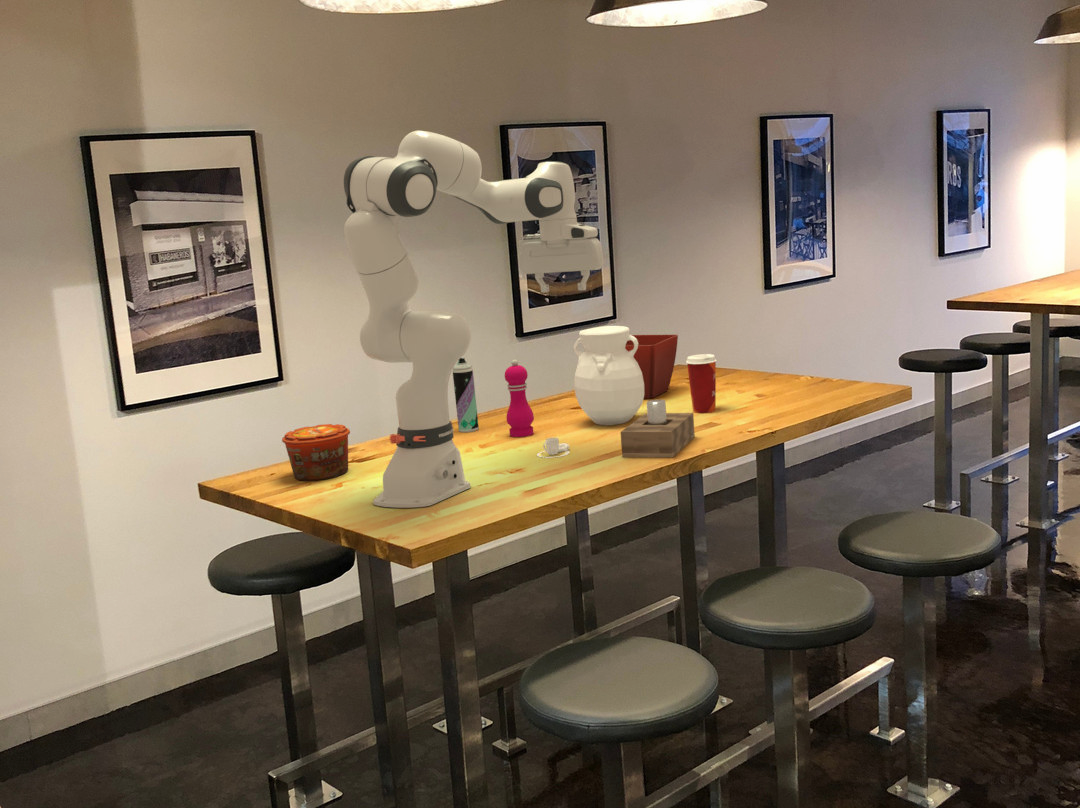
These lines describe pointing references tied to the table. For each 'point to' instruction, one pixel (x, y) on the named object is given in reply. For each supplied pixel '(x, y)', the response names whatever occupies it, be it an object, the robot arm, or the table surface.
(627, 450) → the socket block
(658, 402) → the pin
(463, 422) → the spray can
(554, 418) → the table surface
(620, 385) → the pitcher
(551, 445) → the teacup and saucer
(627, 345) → the plant pot
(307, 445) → the food container
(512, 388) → the pepper mill
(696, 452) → the table surface
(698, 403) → the coffee cup
